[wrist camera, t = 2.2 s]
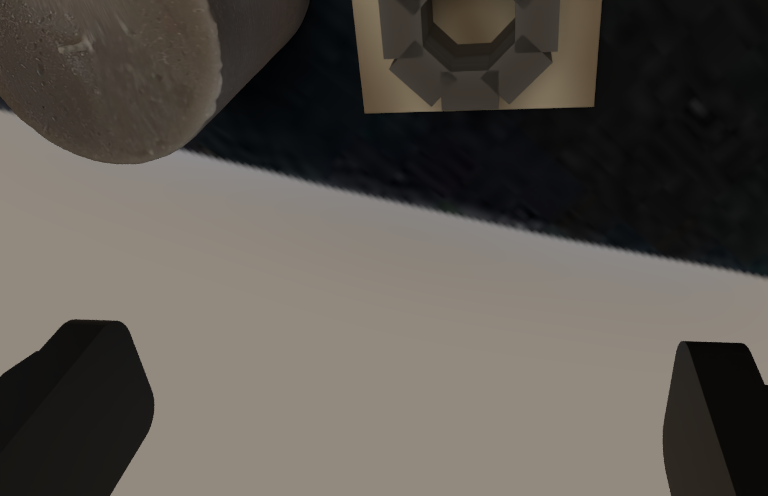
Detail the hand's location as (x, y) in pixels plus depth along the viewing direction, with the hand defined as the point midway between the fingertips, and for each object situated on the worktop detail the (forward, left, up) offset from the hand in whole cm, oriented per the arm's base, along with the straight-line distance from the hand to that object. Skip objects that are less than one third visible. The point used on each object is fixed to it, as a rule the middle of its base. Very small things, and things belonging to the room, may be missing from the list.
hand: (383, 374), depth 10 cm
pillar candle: (+13, -2, -28) cm, 31 cm away
